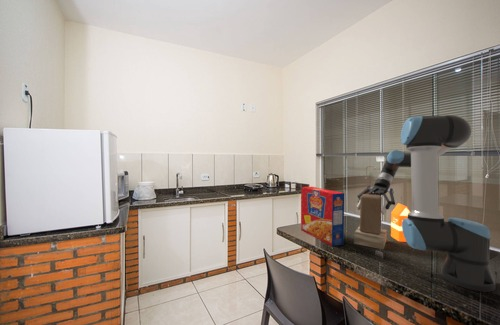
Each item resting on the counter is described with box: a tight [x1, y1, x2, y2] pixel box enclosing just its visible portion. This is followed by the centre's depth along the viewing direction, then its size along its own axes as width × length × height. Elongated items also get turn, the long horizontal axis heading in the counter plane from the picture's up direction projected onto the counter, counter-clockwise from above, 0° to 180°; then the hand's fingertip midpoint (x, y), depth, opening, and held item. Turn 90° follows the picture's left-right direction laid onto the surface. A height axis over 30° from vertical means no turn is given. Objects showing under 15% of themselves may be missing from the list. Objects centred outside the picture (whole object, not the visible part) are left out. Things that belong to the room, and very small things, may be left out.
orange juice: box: [390, 202, 411, 243], centre depth 132 cm, size 8×9×20 cm
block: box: [359, 194, 383, 235], centre depth 127 cm, size 10×10×20 cm
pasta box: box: [300, 186, 345, 247], centre depth 135 cm, size 28×8×28 cm, turn 22°
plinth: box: [353, 225, 387, 250], centre depth 127 cm, size 16×14×6 cm
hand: (369, 210), depth 126 cm, fingers open, 13 cm apart
